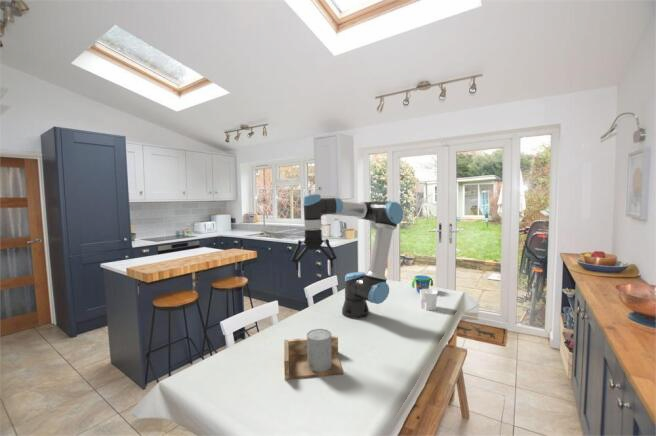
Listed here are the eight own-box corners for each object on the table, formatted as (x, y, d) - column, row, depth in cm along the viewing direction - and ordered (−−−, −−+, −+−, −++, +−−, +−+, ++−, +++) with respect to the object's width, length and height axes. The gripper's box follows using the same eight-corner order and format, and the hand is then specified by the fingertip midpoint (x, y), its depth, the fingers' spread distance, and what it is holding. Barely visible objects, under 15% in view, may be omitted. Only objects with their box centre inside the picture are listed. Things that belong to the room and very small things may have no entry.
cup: (440, 308, 180) (441, 291, 179) (429, 312, 174) (430, 295, 173) (426, 303, 188) (426, 287, 187) (415, 307, 182) (415, 290, 182)
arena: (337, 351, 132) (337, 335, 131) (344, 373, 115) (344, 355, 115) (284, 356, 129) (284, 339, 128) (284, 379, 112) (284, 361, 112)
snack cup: (428, 288, 218) (428, 274, 217) (437, 293, 207) (437, 278, 207) (408, 290, 214) (408, 275, 214) (415, 295, 204) (415, 280, 203)
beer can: (303, 362, 122) (303, 332, 122) (325, 356, 127) (324, 327, 126) (313, 374, 114) (312, 342, 113) (336, 367, 118) (335, 336, 117)
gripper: (338, 226, 143) (339, 271, 145) (284, 229, 139) (286, 275, 141) (342, 228, 136) (343, 275, 137) (285, 231, 132) (286, 279, 133)
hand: (314, 275), depth 139 cm, fingers open, 13 cm apart
